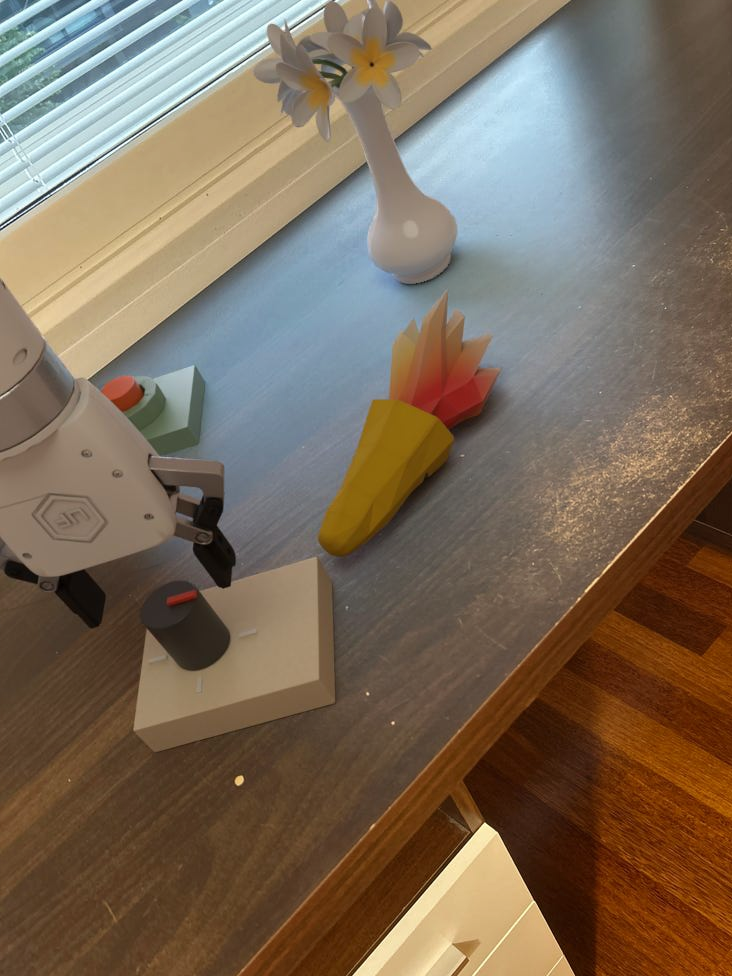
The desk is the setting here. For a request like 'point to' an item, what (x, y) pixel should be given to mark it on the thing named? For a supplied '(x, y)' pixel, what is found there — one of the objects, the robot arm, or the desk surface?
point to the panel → (246, 661)
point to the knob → (185, 625)
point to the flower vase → (366, 125)
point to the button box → (170, 410)
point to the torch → (409, 425)
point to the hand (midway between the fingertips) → (162, 593)
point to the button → (123, 392)
